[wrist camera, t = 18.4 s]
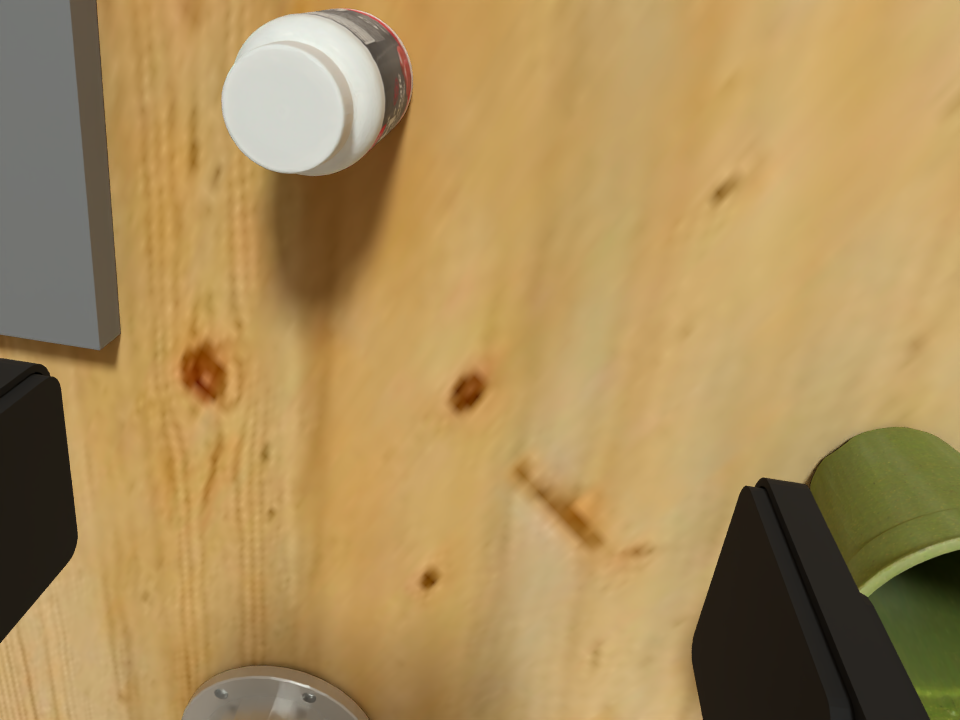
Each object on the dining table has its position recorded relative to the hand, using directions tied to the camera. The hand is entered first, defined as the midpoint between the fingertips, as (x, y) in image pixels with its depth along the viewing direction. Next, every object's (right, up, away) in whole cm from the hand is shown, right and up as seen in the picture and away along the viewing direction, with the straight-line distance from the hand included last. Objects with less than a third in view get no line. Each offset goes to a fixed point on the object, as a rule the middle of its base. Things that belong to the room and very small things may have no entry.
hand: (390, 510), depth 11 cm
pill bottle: (-4, +14, +23) cm, 27 cm away
